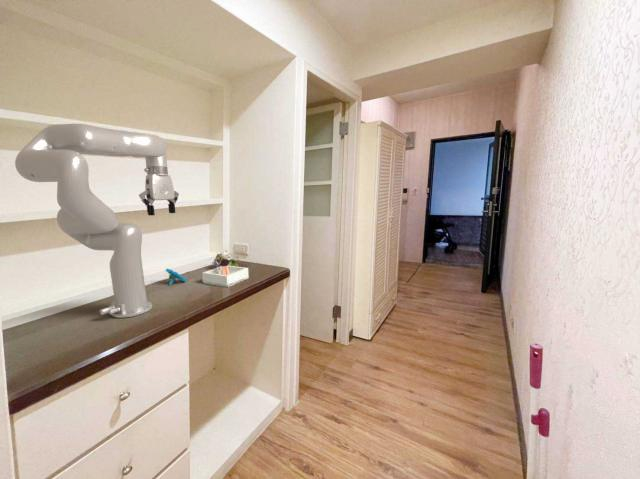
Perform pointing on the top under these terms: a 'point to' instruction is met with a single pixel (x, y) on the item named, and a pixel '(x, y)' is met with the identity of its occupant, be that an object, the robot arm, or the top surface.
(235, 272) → the bin
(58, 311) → the top surface
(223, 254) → the grandmother figurine
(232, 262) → the passion flower
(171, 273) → the blue dinosaur toy
